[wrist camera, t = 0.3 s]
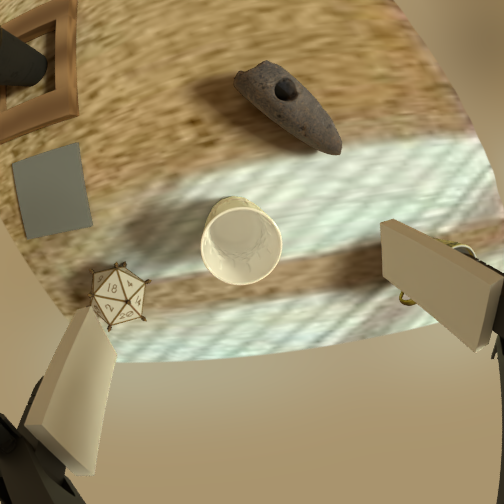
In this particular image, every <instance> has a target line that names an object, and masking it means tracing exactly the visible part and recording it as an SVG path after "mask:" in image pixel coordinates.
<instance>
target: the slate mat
mask: <svg viewBox="0 0 504 504" xmlns="http://www.w3.org/2000/svg"><path fill="white" fill-rule="evenodd" d="M12 166H13V173H14V179H15V185H16V191H17V196H18V201H19V206H20V211H21V215H22V220H23V224H24V228H25V232H26V236H27V240H28V239H33V238H37V237H42V236H47V235H52V234H56V233H61V232H66V231H71V230H76V229H81V228H87V227H91V226H92V225H93V223H92V218H91V214H90V209H89V204H88V199H87V193H86V188H85V182H84V176H83V170H82V163H81V156H80V149H79V143H74V144H70V145H67V146H63V147H60V148H57V149H54V150H51V151H47V152H44V153H41V154H38V155H35V156H32V157H29V158H27V159H24V160H21V161H18V162H16V163H13V164H12Z"/></svg>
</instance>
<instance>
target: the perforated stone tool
mask: <svg viewBox="0 0 504 504" xmlns="http://www.w3.org/2000/svg"><path fill="white" fill-rule="evenodd" d="M234 87H235V88H236V89H237V90H238V91H239V92H240V93H241V94H242V95H243V96H244V97H245V98H246V99H247V100H248V101H250V102H251V103H252V104H253V105H254V106H255V107H256V108H258V109H259V110H260V111H261V112H263V113H264V114H265V115H266V116H267V117H269V118H270V119H271V120H272V121H274V122H275V123H277V124H278V125H279V126H280V127H282V128H283V129H285V130H286V131H288V132H289V133H290V134H292V135H293V136H295V137H296V138H298V139H300V140H301V141H303V142H304V143H306V144H307V145H309V146H311V147H312V148H314V149H317V150H319V151H321V152H324V153H326V154H330V155H340V154H341V149H342V141H341V138H340V136H339V134H338V132H337V129H336V128H335V125H334V123H333V121H332V119H331V118H330V116H329V115H328V114H327V112H326V111H325V110H324V109H323V108H322V106H321V105H320V103H319V102H318V101H317V100H316V99H315V97H314V96H313V95H312V94H311V93H310V92H309V91H308V90H307V89H306V88H305V87H304V86H303V85H302V84H301V83H300V82H299V81H298V80H296V79H295V78H294V77H293V76H292V75H291V74H290V73H289V72H287V71H286V70H285V69H283V68H282V67H281V66H279V65H277V64H274V63H271V62H269V61H267V60H266V61H263V62H262V63H260V64H258V65H257V66H256V67H254V68H252V69H250V70H248V71H246V72H243V71H239V72H238V73H237V75H236V77H235V81H234Z"/></svg>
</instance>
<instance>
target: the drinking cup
mask: <svg viewBox="0 0 504 504" xmlns="http://www.w3.org/2000/svg"><path fill="white" fill-rule="evenodd" d="M46 69H47V60H46V58H45V56H44V55H42V54H41V53H39V52H38V51H36V50H35V49H33V48H32V47H30V46H29V45H27V44H26V43H24V42H23V41H21V40H20V39H18V38H17V37H15V36H14V35H12V34H11V33H9V32H8V31H6V30H5V29H3V28H2V27H1V26H0V85H10V86H33V85H35V84H37V83H38V82H39V81H40V80H41V79H42V78H43V76H44V74H45V72H46Z"/></svg>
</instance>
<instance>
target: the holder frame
mask: <svg viewBox="0 0 504 504" xmlns="http://www.w3.org/2000/svg"><path fill="white" fill-rule="evenodd" d="M77 3H78V1H77V0H51V1H49V2H47V3H44V4H42V5H40V6H38V7H36V8H34V9H32V10H30V11H28V12H26V13H24V14H22V15H20V16H18V17H16V18H14V19H12V20H10V21H9V22H7V23H5V24H3V25H1V27H2V28H3V29H5V30H6V31H8V32H9V33H11V34H12V35H14V36H15V37H17V38H18V39H20V40H21V41H23V42H24V43H26V42H28V41H30V40H32V39H35V38H37V37H39V36H41V35H44V34H46V33H48V32H51V31H53V30H55V29H56V35H55V85H56V90H54V91H51V92H48V93H46V94H43V95H41V96H38V97H36V98H33V99H31V100H28V101H26V102H24V103H21V104H19V105H17V106H15V107H12V108H10V109H8V110H6V85H0V144H3V143H5V142H7V141H10V140H12V139H15V138H17V137H20V136H22V135H25V134H27V133H30V132H33V131H35V130H38V129H41V128H43V127H46V126H49V125H52V124H55V123H58V122H61V121H64V120H67V119H70V118H74V117H77V116H79V107H78V93H77V73H76V22H77Z"/></svg>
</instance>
